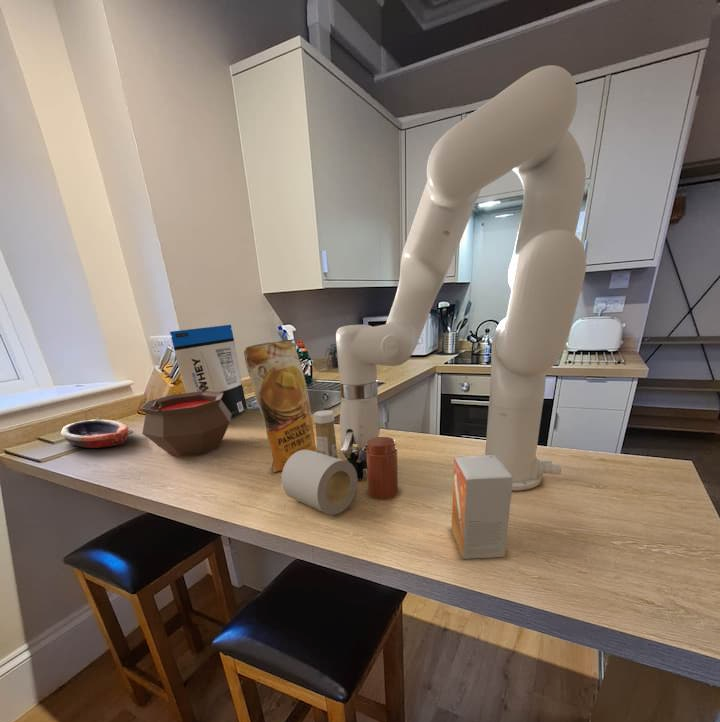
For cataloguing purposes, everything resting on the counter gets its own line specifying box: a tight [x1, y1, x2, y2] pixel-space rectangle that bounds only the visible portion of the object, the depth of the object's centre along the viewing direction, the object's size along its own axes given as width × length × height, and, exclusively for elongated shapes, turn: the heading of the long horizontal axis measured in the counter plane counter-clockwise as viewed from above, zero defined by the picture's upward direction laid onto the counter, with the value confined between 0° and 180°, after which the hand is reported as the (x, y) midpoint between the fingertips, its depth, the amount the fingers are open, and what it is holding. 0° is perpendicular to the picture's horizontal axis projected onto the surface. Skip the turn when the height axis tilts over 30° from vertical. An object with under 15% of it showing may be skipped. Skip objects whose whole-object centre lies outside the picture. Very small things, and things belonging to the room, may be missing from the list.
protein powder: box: [169, 324, 248, 419], centre depth 134 cm, size 10×24×30 cm, turn 149°
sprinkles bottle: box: [312, 409, 339, 459], centre depth 88 cm, size 5×5×14 cm
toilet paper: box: [281, 450, 359, 516], centre depth 73 cm, size 10×10×10 cm
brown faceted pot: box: [138, 382, 232, 458], centre depth 108 cm, size 24×24×16 cm
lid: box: [353, 449, 367, 470], centre depth 85 cm, size 7×7×2 cm
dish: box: [60, 417, 129, 449], centre depth 122 cm, size 16×31×5 cm, turn 52°
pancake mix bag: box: [243, 339, 317, 473], centre depth 91 cm, size 7×19×28 cm, turn 148°
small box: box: [450, 454, 513, 560], centre depth 58 cm, size 8×6×13 cm
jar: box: [366, 436, 399, 500], centre depth 76 cm, size 6×6×11 cm
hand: (364, 471), depth 86 cm, fingers closed on lid, 6 cm apart
